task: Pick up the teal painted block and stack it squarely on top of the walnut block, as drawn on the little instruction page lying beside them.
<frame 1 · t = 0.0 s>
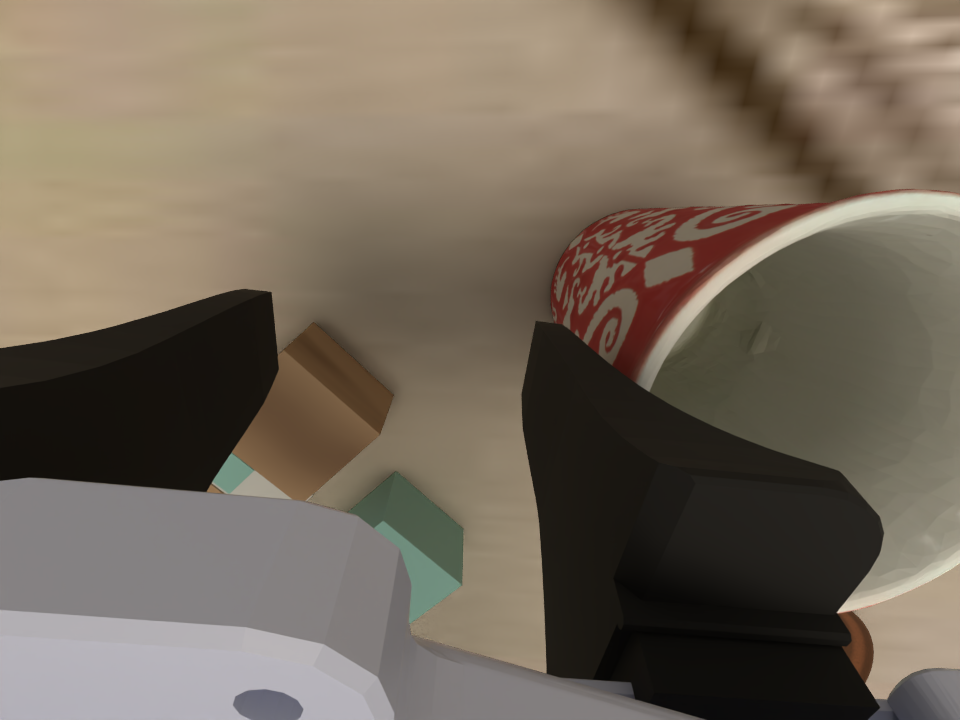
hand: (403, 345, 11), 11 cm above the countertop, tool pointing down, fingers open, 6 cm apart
mug: (651, 316, 23), on the countertop, touching gripper
instruction page: (214, 479, 25), on the countertop
teal block: (397, 526, 26), on the countertop
walnut block: (320, 392, 24), on the countertop
cup and saucer: (747, 642, 30), on the countertop
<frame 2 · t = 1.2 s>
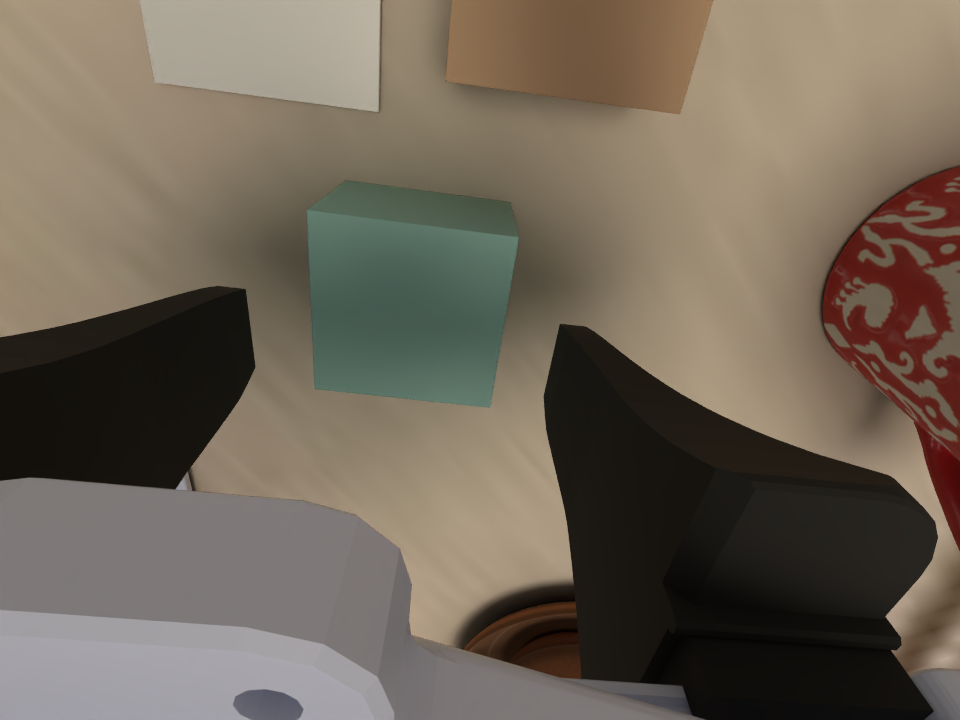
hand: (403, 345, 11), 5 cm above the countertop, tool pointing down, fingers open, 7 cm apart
mug: (903, 320, 17), on the countertop
teal block: (423, 268, 16), on the countertop
cup and saucer: (562, 643, 27), on the countertop
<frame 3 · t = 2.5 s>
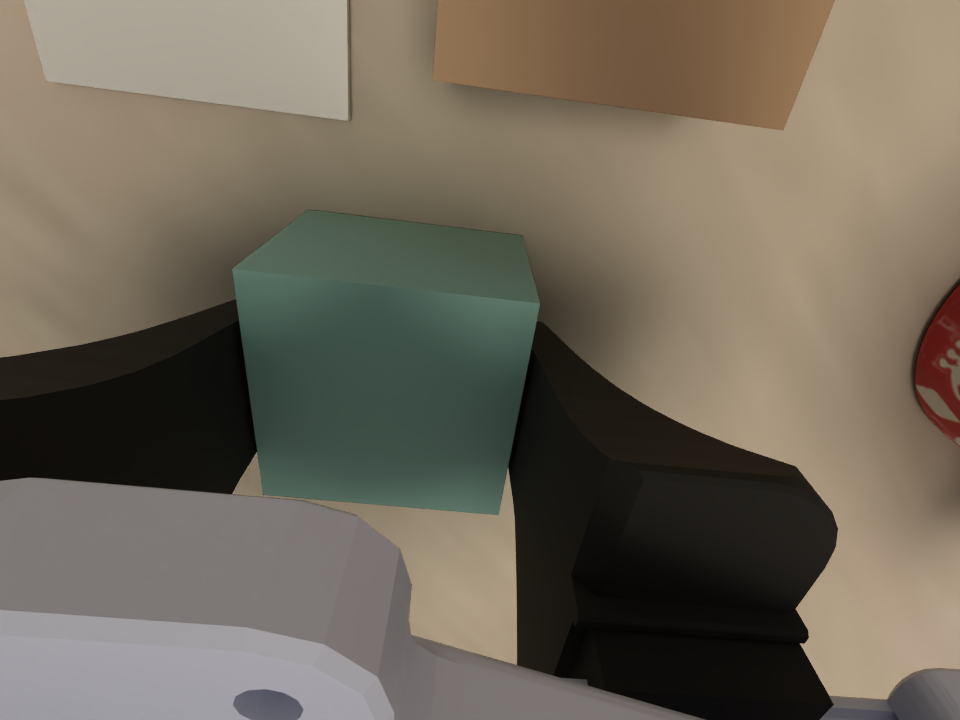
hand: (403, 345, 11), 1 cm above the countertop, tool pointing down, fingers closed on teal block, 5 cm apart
teal block: (411, 319, 13), on the countertop, touching gripper
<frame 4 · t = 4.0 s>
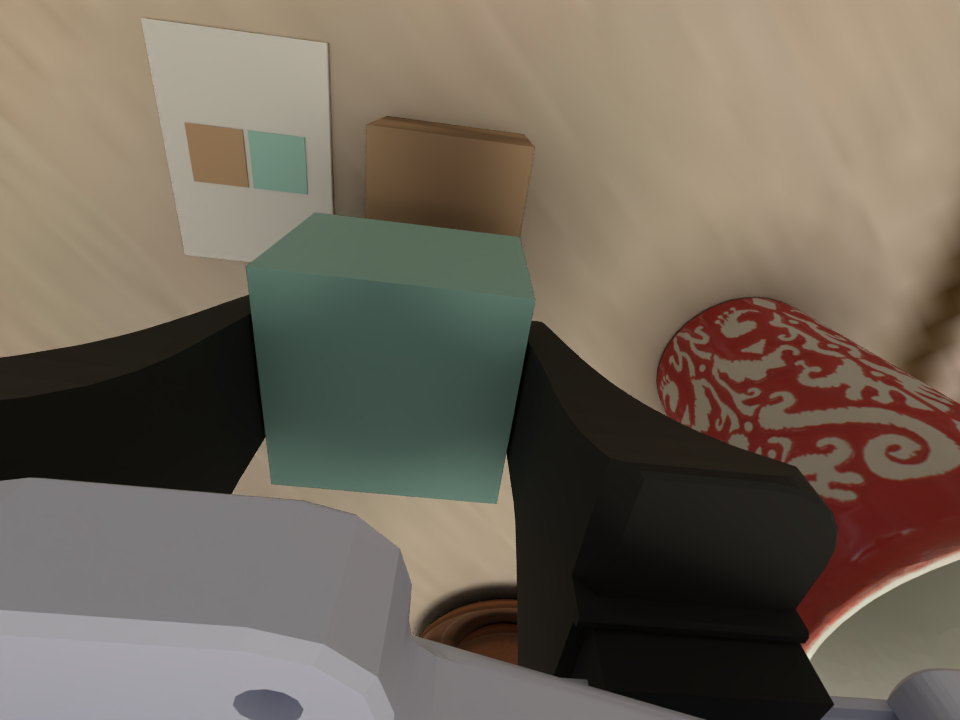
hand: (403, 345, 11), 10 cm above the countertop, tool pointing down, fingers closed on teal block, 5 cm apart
mug: (720, 395, 24), on the countertop
instruction page: (251, 158, 18), on the countertop
teal block: (412, 317, 13), point 8 cm above the countertop, touching gripper
walnut block: (450, 195, 19), on the countertop
cup and saucer: (502, 633, 34), on the countertop
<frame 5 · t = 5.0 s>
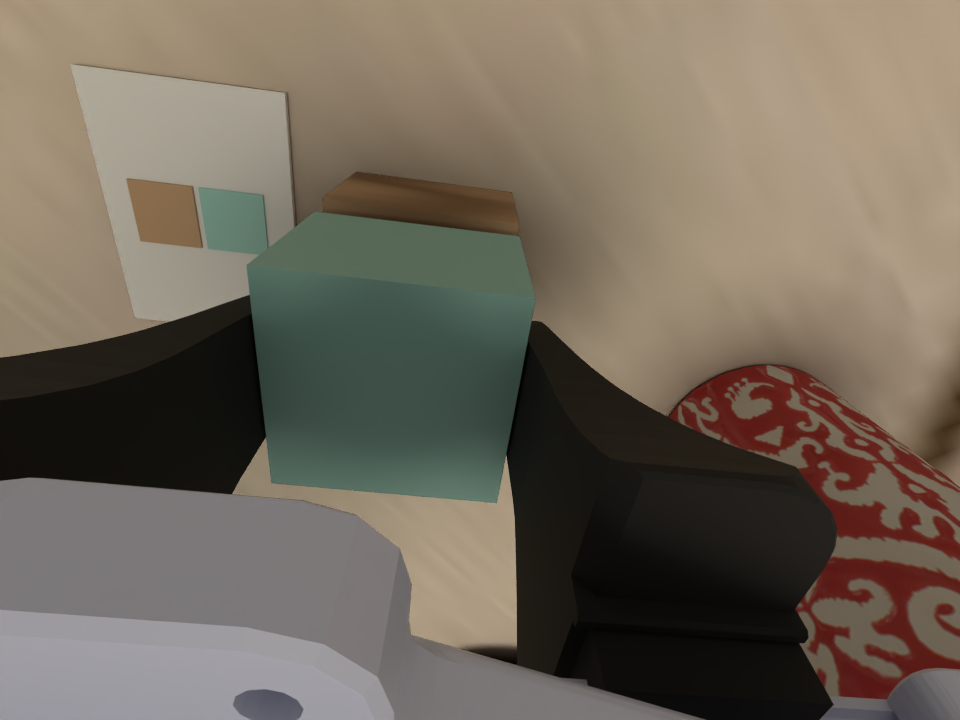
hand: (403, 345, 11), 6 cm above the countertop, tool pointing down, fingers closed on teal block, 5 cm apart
mug: (728, 462, 22), on the countertop
instruction page: (204, 216, 16), on the countertop
teal block: (413, 317, 13), point 4 cm above the countertop, touching gripper
walnut block: (429, 255, 17), on the countertop
when the fingers open (6 cm above the countertop, at t = 5.6 s): teal block stays where it is, resting on walnut block.
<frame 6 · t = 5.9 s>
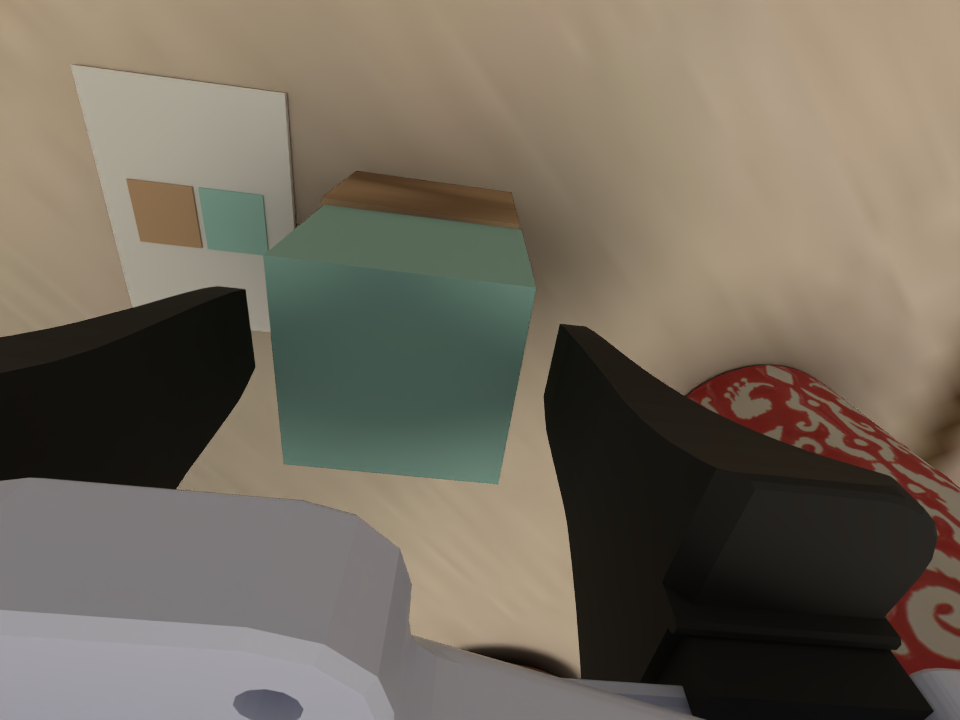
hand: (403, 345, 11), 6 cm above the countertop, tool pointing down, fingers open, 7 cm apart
mug: (728, 462, 22), on the countertop
instruction page: (204, 216, 16), on the countertop
teal block: (418, 307, 14), point 4 cm above the countertop, touching walnut block
walnut block: (428, 256, 17), on the countertop, touching teal block
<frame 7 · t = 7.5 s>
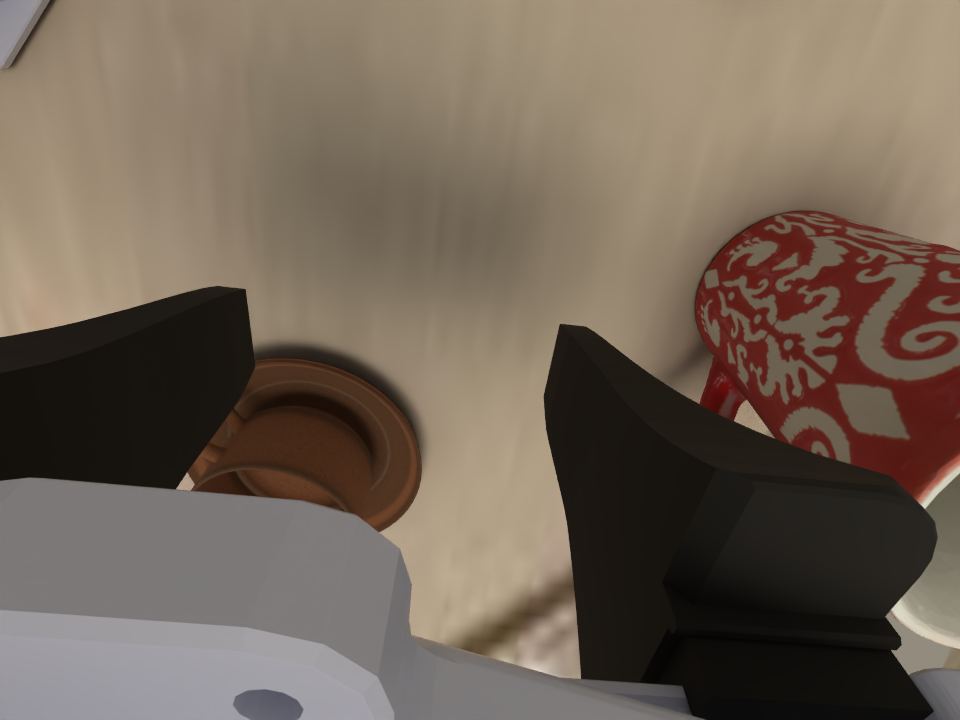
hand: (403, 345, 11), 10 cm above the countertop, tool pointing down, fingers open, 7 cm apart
mug: (739, 313, 23), on the countertop
cup and saucer: (314, 437, 27), on the countertop
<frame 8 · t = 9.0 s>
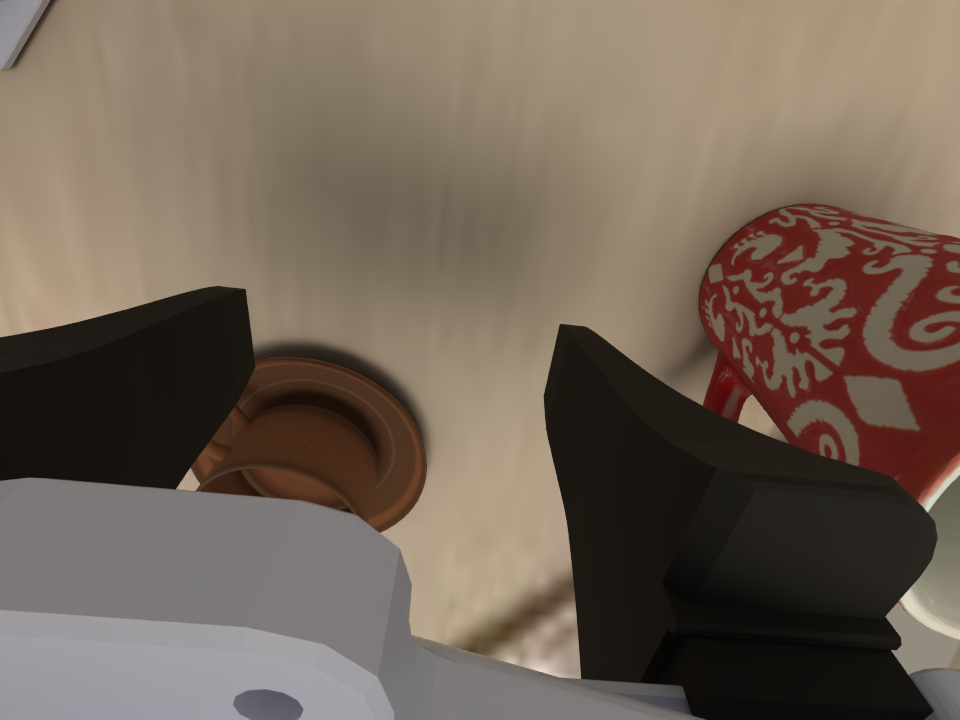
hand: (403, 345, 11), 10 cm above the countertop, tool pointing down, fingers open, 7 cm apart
mug: (744, 308, 23), on the countertop
cup and saucer: (319, 436, 27), on the countertop
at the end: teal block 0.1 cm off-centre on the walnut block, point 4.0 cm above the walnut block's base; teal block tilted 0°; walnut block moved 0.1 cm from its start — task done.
